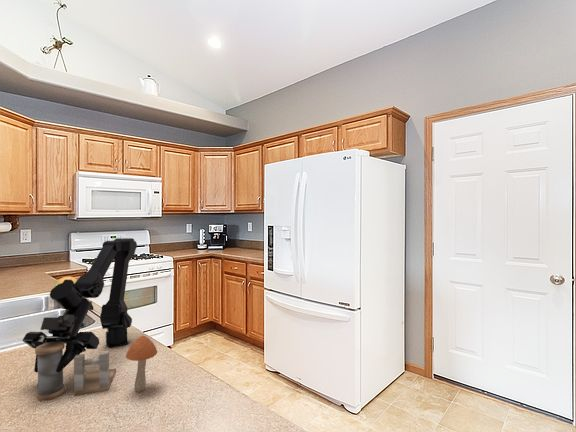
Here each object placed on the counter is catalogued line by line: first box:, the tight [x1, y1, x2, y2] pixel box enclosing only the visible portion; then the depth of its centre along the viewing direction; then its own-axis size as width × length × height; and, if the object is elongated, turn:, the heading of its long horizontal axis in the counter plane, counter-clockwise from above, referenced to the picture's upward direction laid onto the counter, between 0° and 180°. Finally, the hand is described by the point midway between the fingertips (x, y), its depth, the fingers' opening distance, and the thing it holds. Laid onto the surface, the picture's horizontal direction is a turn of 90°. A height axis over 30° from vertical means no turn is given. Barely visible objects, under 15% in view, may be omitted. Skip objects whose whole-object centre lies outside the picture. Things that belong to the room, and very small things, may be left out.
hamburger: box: [55, 275, 78, 286], centre depth 203 cm, size 12×12×9 cm
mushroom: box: [125, 334, 158, 393], centre depth 90 cm, size 8×8×15 cm
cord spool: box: [34, 341, 66, 402], centre depth 88 cm, size 6×6×13 cm
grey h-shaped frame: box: [73, 350, 117, 397], centre depth 94 cm, size 11×8×10 cm
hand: (46, 371), depth 87 cm, fingers closed on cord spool, 5 cm apart
